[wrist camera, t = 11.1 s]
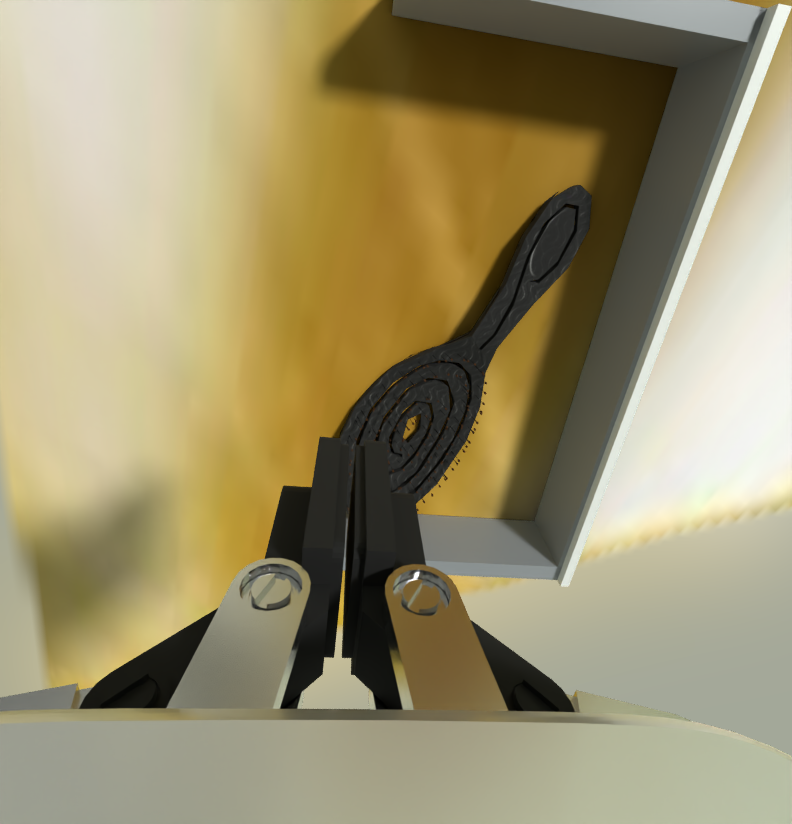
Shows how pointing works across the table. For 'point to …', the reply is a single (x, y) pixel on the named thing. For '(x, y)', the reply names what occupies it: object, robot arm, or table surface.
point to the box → (640, 252)
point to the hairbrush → (463, 359)
